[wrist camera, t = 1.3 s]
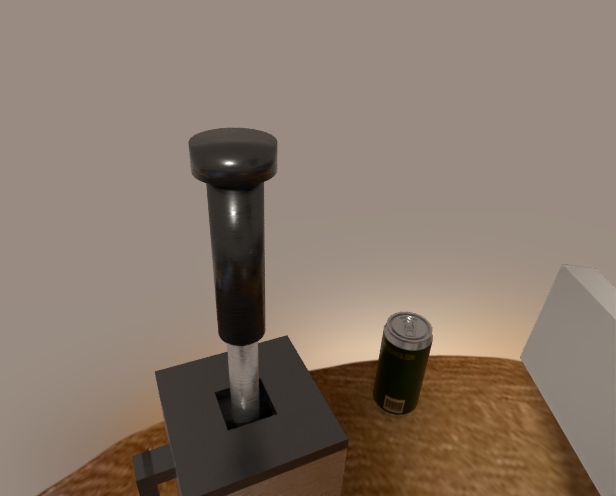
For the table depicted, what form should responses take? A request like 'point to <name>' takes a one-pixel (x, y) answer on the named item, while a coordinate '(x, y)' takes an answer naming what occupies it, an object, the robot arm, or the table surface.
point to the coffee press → (245, 432)
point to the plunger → (237, 248)
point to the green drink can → (402, 363)
